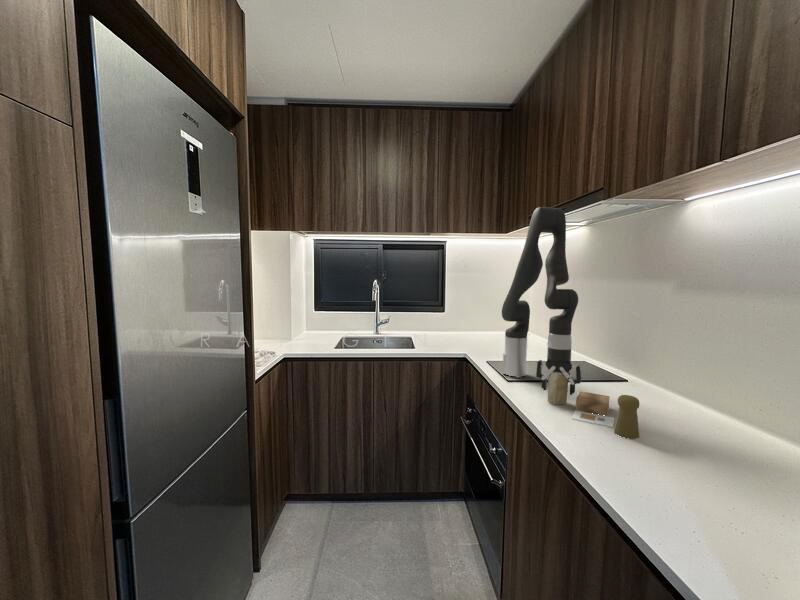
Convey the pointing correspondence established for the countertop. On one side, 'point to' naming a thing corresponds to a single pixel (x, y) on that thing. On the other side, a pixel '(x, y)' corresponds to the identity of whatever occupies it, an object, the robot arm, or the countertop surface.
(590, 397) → the base brick
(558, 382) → the box
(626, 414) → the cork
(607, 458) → the countertop surface
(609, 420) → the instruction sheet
